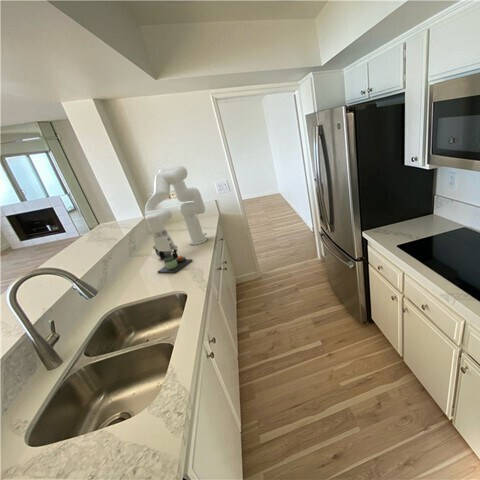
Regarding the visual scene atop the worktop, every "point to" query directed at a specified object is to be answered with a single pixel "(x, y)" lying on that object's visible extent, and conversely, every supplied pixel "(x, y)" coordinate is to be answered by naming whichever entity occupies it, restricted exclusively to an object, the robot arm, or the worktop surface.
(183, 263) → the scale
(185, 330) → the worktop surface
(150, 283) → the worktop surface
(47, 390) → the worktop surface
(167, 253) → the mortar and pestle
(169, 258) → the bowl
